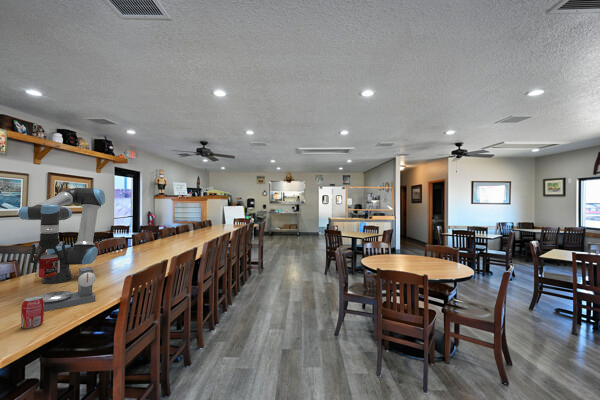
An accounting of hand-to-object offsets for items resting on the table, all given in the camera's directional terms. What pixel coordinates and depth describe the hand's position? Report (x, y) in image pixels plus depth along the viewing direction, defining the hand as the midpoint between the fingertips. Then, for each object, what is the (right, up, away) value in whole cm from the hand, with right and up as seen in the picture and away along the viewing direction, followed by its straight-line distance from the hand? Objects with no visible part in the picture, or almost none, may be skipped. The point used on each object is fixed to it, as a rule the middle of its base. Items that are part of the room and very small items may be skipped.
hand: (48, 273), depth 146 cm
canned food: (0, -1, 0) cm, 1 cm away
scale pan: (+11, -11, -8) cm, 18 cm away
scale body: (+14, -14, -6) cm, 21 cm away
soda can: (+22, -15, -31) cm, 41 cm away
